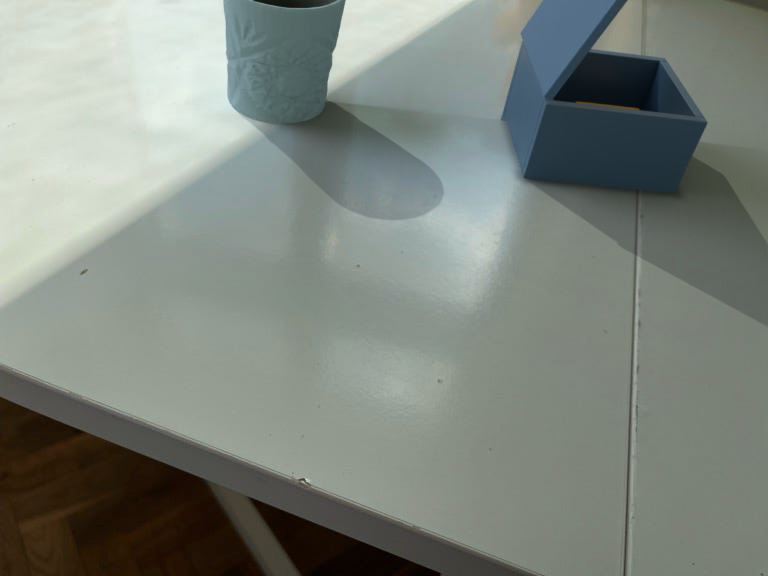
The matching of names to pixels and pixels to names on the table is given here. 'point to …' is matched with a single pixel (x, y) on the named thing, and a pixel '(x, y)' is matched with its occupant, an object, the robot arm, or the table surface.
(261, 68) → the embossed flower pot
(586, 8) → the lid
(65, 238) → the table surface
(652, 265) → the table surface
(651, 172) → the cool box
